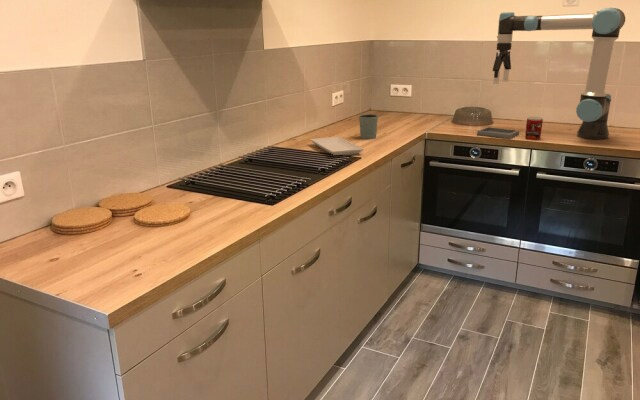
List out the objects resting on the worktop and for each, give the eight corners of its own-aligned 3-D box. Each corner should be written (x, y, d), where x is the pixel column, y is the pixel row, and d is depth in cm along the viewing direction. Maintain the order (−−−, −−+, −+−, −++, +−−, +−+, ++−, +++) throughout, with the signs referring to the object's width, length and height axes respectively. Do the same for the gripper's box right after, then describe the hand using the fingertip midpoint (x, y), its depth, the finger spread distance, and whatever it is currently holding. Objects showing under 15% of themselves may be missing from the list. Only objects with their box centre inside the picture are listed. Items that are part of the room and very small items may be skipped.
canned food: (523, 139, 277) (526, 118, 273) (525, 136, 284) (528, 116, 280) (539, 140, 274) (542, 119, 270) (541, 137, 280) (543, 117, 277)
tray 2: (518, 135, 288) (519, 130, 287) (509, 139, 277) (510, 134, 277) (487, 131, 298) (487, 126, 298) (477, 135, 288) (477, 130, 287)
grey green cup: (378, 136, 289) (379, 114, 285) (375, 140, 280) (376, 117, 276) (360, 135, 292) (361, 113, 288) (357, 139, 282) (357, 116, 279)
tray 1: (339, 142, 277) (339, 135, 276) (364, 155, 249) (364, 148, 248) (309, 145, 271) (309, 138, 270) (331, 159, 243) (331, 151, 242)
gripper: (506, 41, 295) (502, 80, 302) (488, 43, 277) (485, 84, 284) (519, 41, 291) (515, 80, 297) (502, 43, 273) (498, 84, 279)
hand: (500, 82), depth 291 cm, fingers open, 13 cm apart
